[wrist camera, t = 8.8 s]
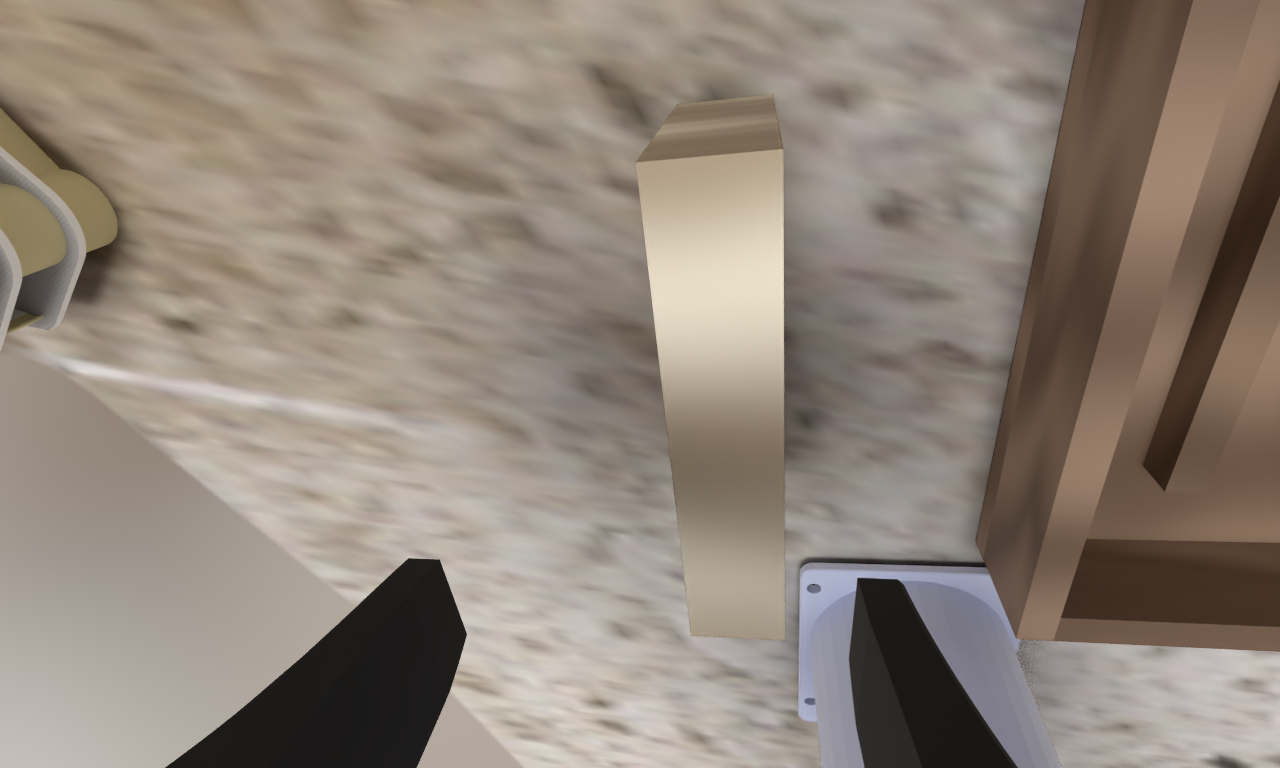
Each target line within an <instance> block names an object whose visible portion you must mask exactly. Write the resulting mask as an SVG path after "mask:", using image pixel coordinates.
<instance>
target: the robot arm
mask: <svg viewBox="0 0 1280 768" xmlns="http://www.w3.org/2000/svg"><path fill="white" fill-rule="evenodd" d="M810 584H817V585H810ZM466 636H467V633H466V630H465V628H464V625H463V622H462V620H461V617H460V614H459V611H458V609H457V606H456V603H455V600H454V598H453V595H452V592H451V590H450V587H449V584H448V581H447V579H446V576H445V573H444V570H443V568H442V565H441V562H440V560H434V559H410V558H409V559H408V560H406V561H405V562H404V563H403V564H402V565H401V566H400V567H399V568H397V569H396V570H395V571H394V572H393V573H392V574H391V575H390V576H389V577H388V578H387V579H386V580H384V581H383V582H382V583H381V584H380V585H379V586H378V587H377V588H376V589H375V590H374V591H373V592H372V593H371V594H370V595H369V596H367V597H366V598H365V599H364V600H363V601H362V602H361V603H360V604H359V605H358V606H357V607H356V608H355V609H354V610H353V611H352V612H351V613H350V614H348V615H347V616H346V617H345V618H344V619H343V620H342V621H341V622H340V623H339V624H338V625H337V626H335V628H333V629H332V630H331V631H330V632H329V633H328V634H327V635H326V636H325V637H324V638H322V639H321V640H320V641H319V642H318V643H317V644H316V645H315V646H314V647H313V648H311V649H310V650H309V651H308V652H307V653H306V654H305V655H304V656H303V657H302V658H300V660H298V661H297V662H296V663H295V664H293V665H292V666H291V667H290V668H289V669H288V670H286V671H285V672H284V673H283V674H282V675H281V676H279V678H277V679H276V680H275V681H274V682H272V684H270V685H269V686H268V687H267V688H266V689H264V690H263V691H262V692H261V693H260V694H258V695H257V696H256V697H255V698H254V699H253V700H252V701H250V702H249V703H248V704H247V705H246V706H244V707H243V708H242V709H241V710H240V711H238V712H237V713H236V714H235V715H233V716H232V717H231V718H230V719H228V720H227V721H226V722H225V723H224V724H222V725H221V726H220V727H219V728H217V729H216V730H215V731H213V732H212V733H211V734H210V735H208V736H207V737H206V738H204V739H203V740H202V741H200V742H199V743H198V744H197V745H195V746H194V747H192V748H191V749H190V750H188V751H187V752H186V753H184V754H183V755H182V756H180V757H179V758H178V759H176V760H175V761H174V762H172V763H171V764H170V765H168V766H167V767H166V768H416V767H417V765H418V763H419V761H420V759H421V756H422V754H423V752H424V750H425V747H426V745H427V743H428V740H429V738H430V736H431V734H432V731H433V729H434V727H435V724H436V722H437V720H438V718H439V715H440V713H441V711H442V708H443V706H444V704H445V701H446V698H447V696H448V694H449V692H450V689H451V686H452V682H453V679H454V676H455V673H456V670H457V667H458V664H459V660H460V657H461V653H462V650H463V646H464V643H465V639H466ZM1020 641H1021V639H1016V638H1015V635H1014V633H1013V630H1012V628H1011V625H1010V623H1009V621H1008V618H1007V616H1006V613H1005V611H1004V608H1003V606H1002V604H1001V601H1000V599H999V596H998V594H997V591H996V589H995V587H994V584H993V582H992V579H991V577H990V575H989V572H988V570H987V568H986V567H951V566H916V565H881V564H846V563H808V564H806V565H804V566H803V567H802V568H801V570H800V596H799V669H798V714H799V716H800V717H801V718H802V719H803V720H806V721H811V722H817V724H818V735H819V746H820V757H821V768H1062V766H1061V764H1060V761H1059V759H1058V756H1057V754H1056V751H1055V749H1054V746H1053V744H1052V742H1051V739H1050V737H1049V734H1048V732H1047V729H1046V727H1045V724H1044V722H1043V719H1042V717H1041V714H1040V712H1039V709H1038V707H1037V704H1036V702H1035V699H1034V697H1033V694H1032V692H1031V689H1030V687H1029V685H1028V682H1027V680H1026V677H1025V675H1024V672H1023V670H1022V667H1021V665H1020V662H1019V660H1018V657H1017V651H1018V648H1019V644H1020Z"/></svg>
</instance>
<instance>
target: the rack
mask: <svg viewBox="0 0 1280 768" xmlns="http://www.w3.org/2000/svg"><path fill="white" fill-rule="evenodd" d="M976 543H977V545H978V548H979V550H980V553H981V555H982V558H983V560H984V562H985V565H986V567H987V570H988V572H989V575H990V577H991V579H992V582H993V584H994V587H995V589H996V591H997V594H998V596H999V599H1000V601H1001V604H1002V606H1003V608H1004V611H1005V613H1006V616H1007V618H1008V621H1009V623H1010V625H1011V628H1012V630H1013V633H1014V635H1015V638H1016V639H1026V640H1047V641H1068V642H1089V643H1110V644H1131V645H1152V646H1173V647H1193V648H1214V649H1235V650H1256V651H1277V652H1280V0H1086V5H1085V10H1084V15H1083V20H1082V25H1081V29H1080V34H1079V39H1078V44H1077V49H1076V54H1075V59H1074V64H1073V69H1072V74H1071V78H1070V83H1069V88H1068V93H1067V98H1066V103H1065V108H1064V113H1063V118H1062V122H1061V127H1060V132H1059V137H1058V142H1057V147H1056V152H1055V157H1054V162H1053V167H1052V171H1051V176H1050V181H1049V186H1048V191H1047V196H1046V201H1045V206H1044V211H1043V215H1042V220H1041V225H1040V230H1039V235H1038V240H1037V245H1036V250H1035V255H1034V259H1033V264H1032V269H1031V274H1030V279H1029V284H1028V289H1027V294H1026V299H1025V304H1024V308H1023V313H1022V318H1021V323H1020V328H1019V333H1018V338H1017V343H1016V348H1015V352H1014V357H1013V362H1012V367H1011V372H1010V377H1009V382H1008V387H1007V392H1006V397H1005V401H1004V406H1003V411H1002V416H1001V421H1000V426H999V431H998V436H997V441H996V445H995V450H994V455H993V460H992V465H991V470H990V475H989V480H988V485H987V489H986V494H985V499H984V504H983V509H982V514H981V519H980V524H979V529H978V534H977V538H976Z"/></svg>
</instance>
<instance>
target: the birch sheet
mask: <svg viewBox="0 0 1280 768" xmlns="http://www.w3.org/2000/svg"><path fill="white" fill-rule="evenodd" d="M636 168H637V177H638V185H639V194H640V202H641V211H642V220H643V228H644V237H645V245H646V254H647V263H648V271H649V280H650V288H651V297H652V306H653V314H654V323H655V331H656V340H657V348H658V357H659V366H660V374H661V383H662V391H663V400H664V409H665V417H666V426H667V434H668V443H669V452H670V460H671V469H672V477H673V486H674V495H675V503H676V512H677V520H678V529H679V538H680V546H681V555H682V563H683V572H684V581H685V589H686V598H687V606H688V615H689V623H690V632H691V636H704V637H723V638H741V639H760V640H779V641H785V521H784V195H783V145H782V140H781V134H780V129H779V124H778V119H777V114H776V109H775V104H774V99H773V94H768V95H759V96H750V97H741V98H731V99H722V100H713V101H704V102H694V103H685V104H678V105H677V106H676V108H675V109H674V110H673V112H672V113H671V114H670V116H669V117H668V119H667V120H666V121H665V123H664V124H663V126H662V127H661V128H660V130H659V131H658V132H657V134H656V135H655V137H654V138H653V139H652V141H651V142H650V144H649V145H648V146H647V148H646V149H645V150H644V152H643V153H642V155H641V156H640V157H639V159H638V160H637V162H636Z"/></svg>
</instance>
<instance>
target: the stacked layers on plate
mask: <svg viewBox="0 0 1280 768" xmlns="http://www.w3.org/2000/svg"><path fill="white" fill-rule="evenodd" d="M117 232H118V222H117V218H116V214H115V212H114V209H113V207H112V205H111V204H110V202H109V201H108V199H107V198H106V196H105V195H104V194H103V193H102V191H101V190H100V189H99V188H98V187H97V186H96V185H94V184H93V183H92V182H91V181H89V180H88V179H87V178H85V177H83V176H82V175H80V174H78V173H75V172H73V171H69V170H64V169H60V168H59V167H58V166H57V165H56V164H55V163H54V162H53V161H52V160H51V159H50V158H49V157H48V156H47V155H46V154H45V153H44V152H43V151H42V150H41V149H40V148H39V147H38V146H37V145H36V144H35V143H34V142H33V141H32V140H31V139H30V138H29V137H28V136H27V135H26V134H25V132H24V131H23V130H22V129H21V128H20V127H19V126H18V125H17V124H16V123H15V122H14V121H13V120H12V119H11V118H10V117H9V116H8V115H7V114H6V113H5V112H4V111H3V110H2V109H1V108H0V351H1V349H2V346H3V343H4V340H5V336H6V335H7V334H10V333H12V332H14V331H16V330H18V329H21V328H23V327H25V326H30V327H35V328H40V329H45V330H50V329H52V328H54V327H56V326H58V325H59V324H60V323H61V322H62V321H63V318H64V315H65V312H66V310H67V307H68V304H69V301H70V299H71V296H72V293H73V291H74V288H75V285H76V282H77V280H78V277H79V274H80V271H81V269H82V266H83V263H84V260H85V257H86V253H87V252H90V251H92V250H95V249H98V248H100V247H103V246H105V245H108V244H110V243H111V242H112V241H113V240H114V239H115V238H116V235H117Z"/></svg>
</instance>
